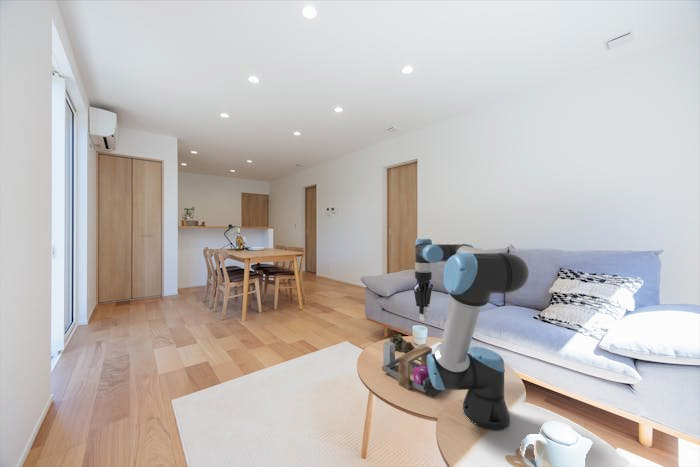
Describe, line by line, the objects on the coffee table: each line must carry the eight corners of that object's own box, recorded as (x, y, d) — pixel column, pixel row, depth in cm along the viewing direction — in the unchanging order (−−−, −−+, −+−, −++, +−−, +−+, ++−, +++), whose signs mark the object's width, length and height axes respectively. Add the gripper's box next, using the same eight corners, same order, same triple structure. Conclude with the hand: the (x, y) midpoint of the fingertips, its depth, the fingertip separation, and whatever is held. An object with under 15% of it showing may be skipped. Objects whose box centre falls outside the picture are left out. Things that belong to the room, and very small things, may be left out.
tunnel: (431, 374, 125) (431, 348, 125) (408, 389, 113) (408, 361, 113) (422, 369, 129) (422, 344, 129) (398, 384, 117) (398, 357, 117)
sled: (442, 380, 120) (442, 356, 119) (423, 394, 110) (423, 367, 109) (395, 359, 139) (395, 338, 139) (375, 369, 129) (375, 346, 129)
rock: (389, 343, 160) (383, 341, 152) (400, 330, 161) (395, 328, 153) (405, 360, 153) (400, 360, 145) (417, 347, 153) (412, 345, 145)
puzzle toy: (420, 387, 115) (420, 374, 115) (413, 380, 120) (413, 368, 120) (432, 385, 117) (432, 372, 117) (424, 378, 122) (424, 365, 122)
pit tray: (447, 385, 116) (447, 383, 116) (432, 397, 108) (432, 395, 108) (440, 382, 119) (440, 380, 119) (424, 393, 111) (424, 391, 111)
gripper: (424, 268, 135) (424, 315, 136) (408, 271, 126) (408, 321, 127) (438, 270, 129) (437, 319, 130) (421, 273, 121) (421, 325, 121)
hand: (422, 320), depth 129 cm, fingers closed
